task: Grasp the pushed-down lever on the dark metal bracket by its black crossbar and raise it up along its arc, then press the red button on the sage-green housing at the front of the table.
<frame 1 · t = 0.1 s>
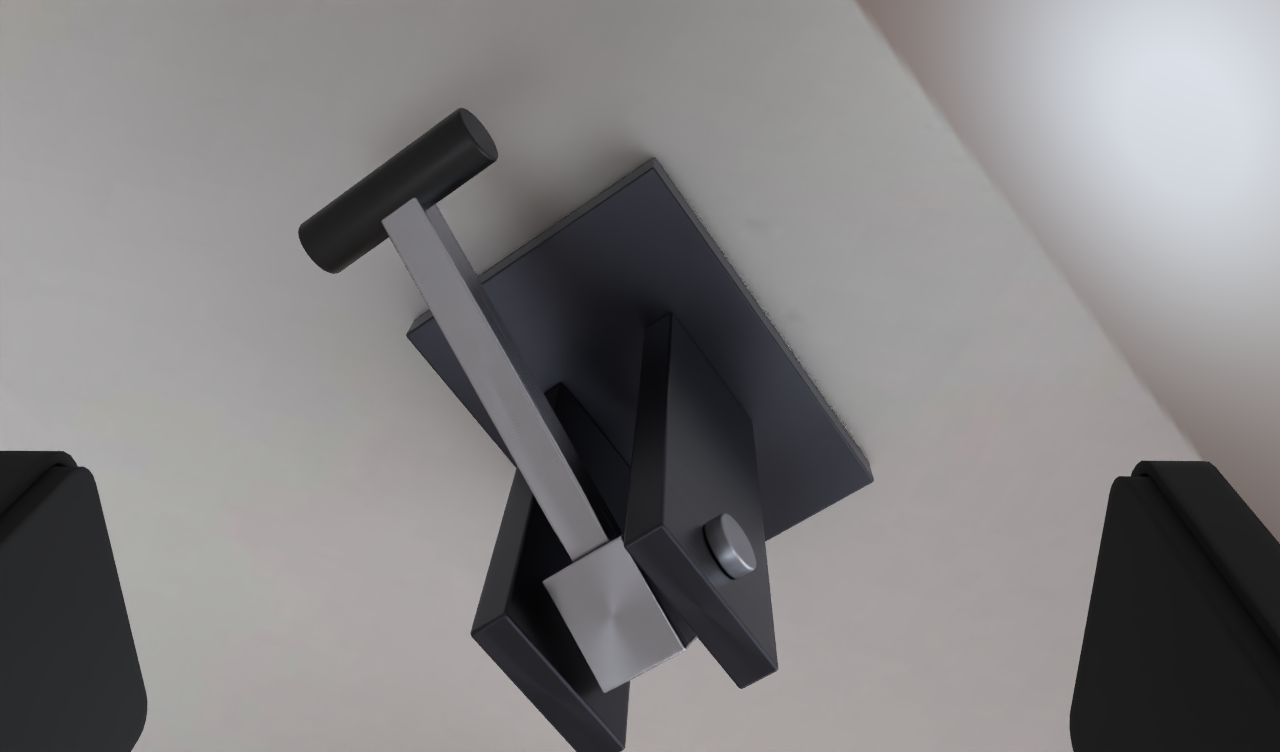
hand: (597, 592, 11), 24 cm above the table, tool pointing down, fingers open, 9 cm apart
lever: (517, 405, 27), point 9 cm above the table, hinge at -26.0°
bracket: (645, 393, 36), on the table
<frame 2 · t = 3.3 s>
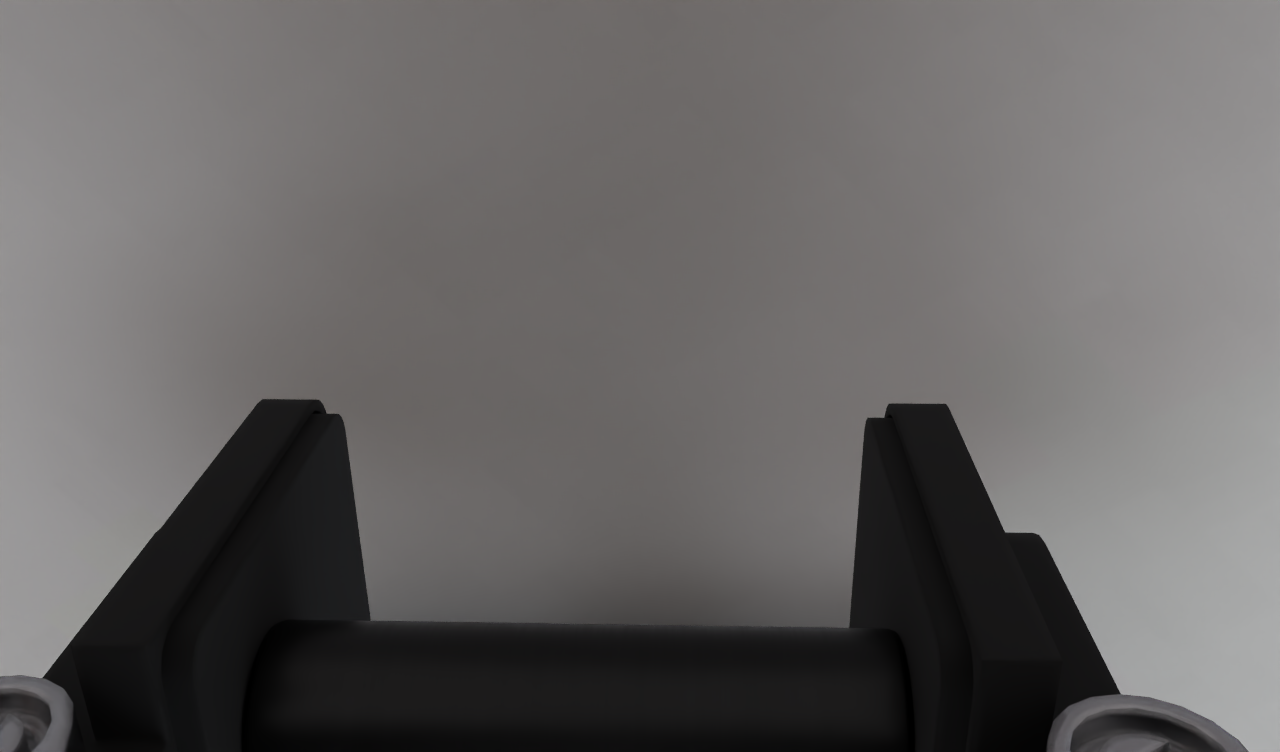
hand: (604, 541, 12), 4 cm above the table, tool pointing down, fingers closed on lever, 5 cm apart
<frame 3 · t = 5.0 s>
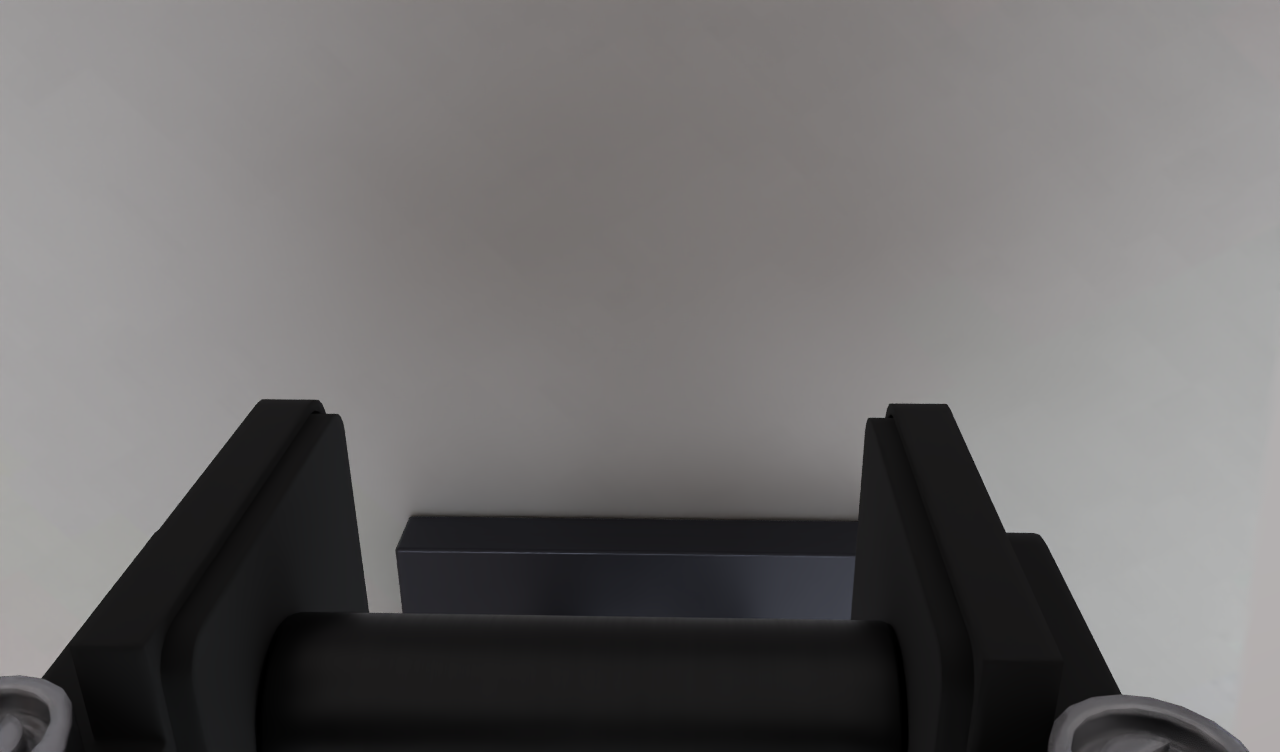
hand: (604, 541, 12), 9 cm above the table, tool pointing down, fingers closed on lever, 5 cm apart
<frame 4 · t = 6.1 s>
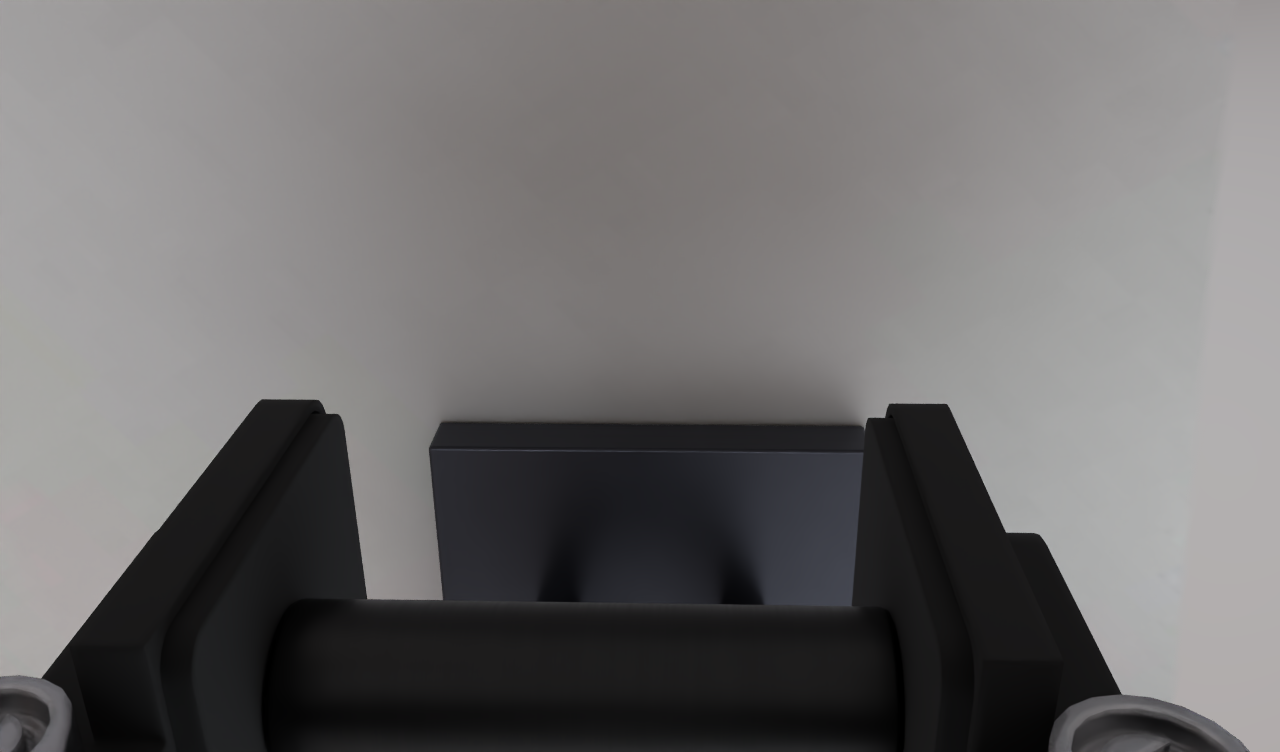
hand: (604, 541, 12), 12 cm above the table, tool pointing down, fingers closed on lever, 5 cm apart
bracket: (652, 655, 27), on the table
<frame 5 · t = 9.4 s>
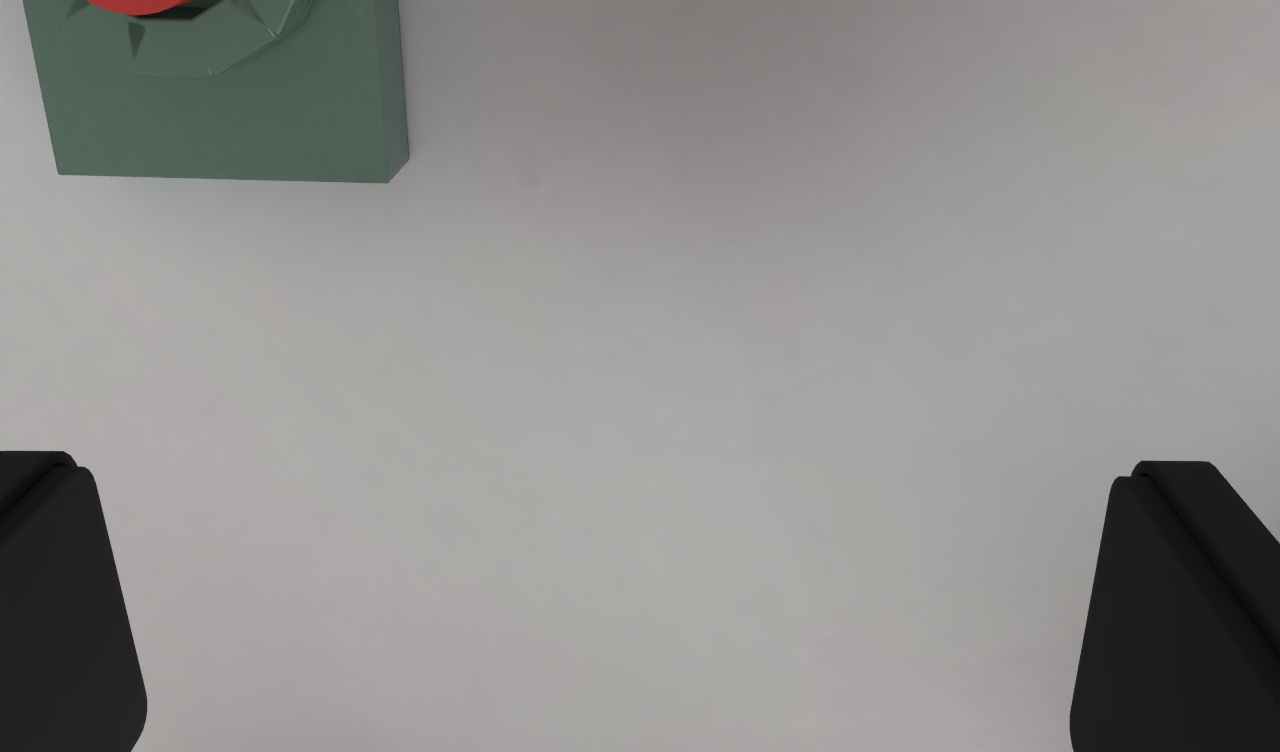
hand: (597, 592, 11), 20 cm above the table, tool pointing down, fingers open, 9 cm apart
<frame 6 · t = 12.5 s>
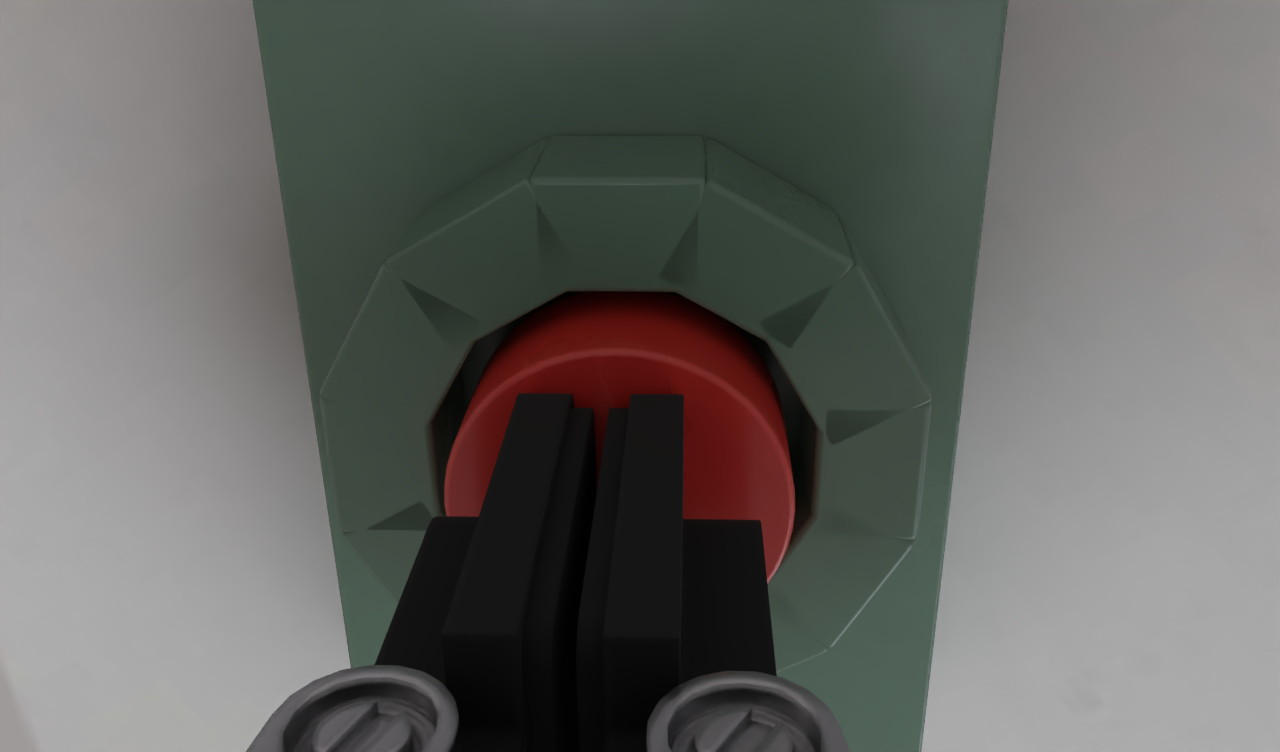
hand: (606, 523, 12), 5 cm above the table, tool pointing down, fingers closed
button box: (640, 329, 16), on the table
button: (623, 469, 13), point 4 cm above the table, slide at -0.4 cm, touching gripper
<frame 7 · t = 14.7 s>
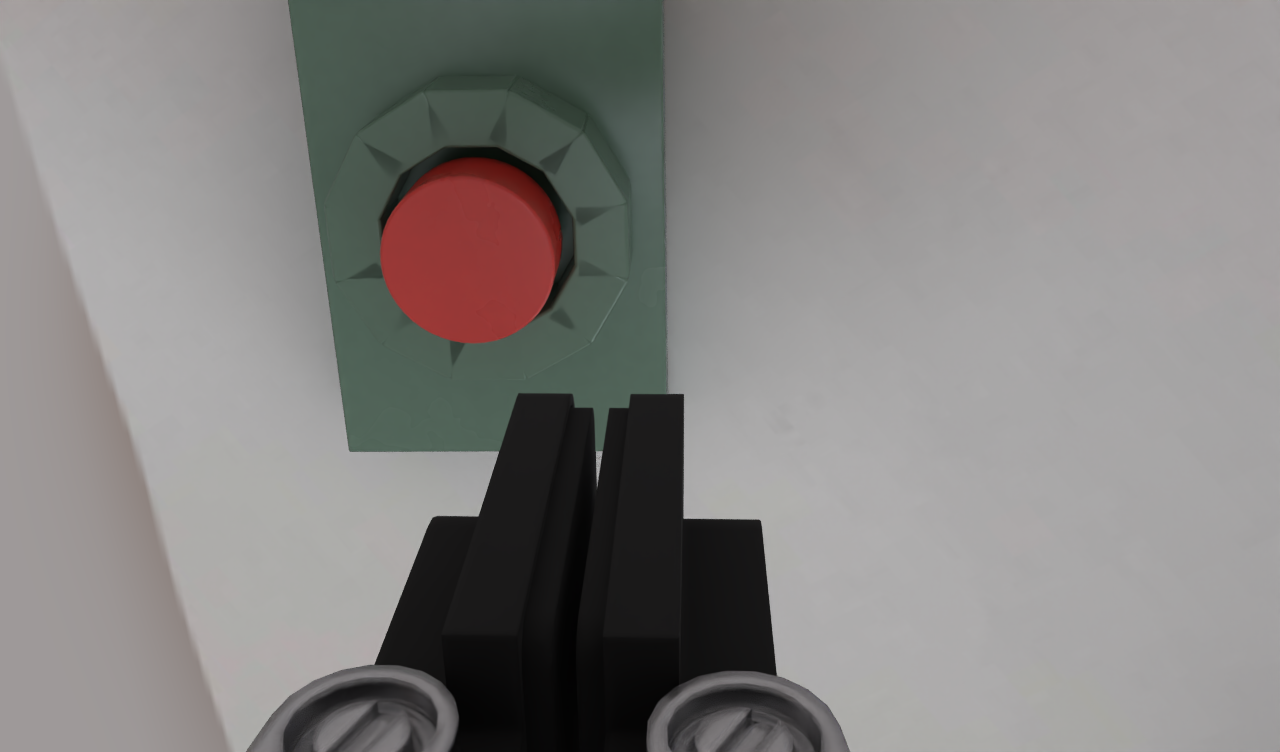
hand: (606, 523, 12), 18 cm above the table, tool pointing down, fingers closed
button box: (503, 194, 29), on the table
button: (473, 250, 24), point 4 cm above the table, slide at 0.1 cm
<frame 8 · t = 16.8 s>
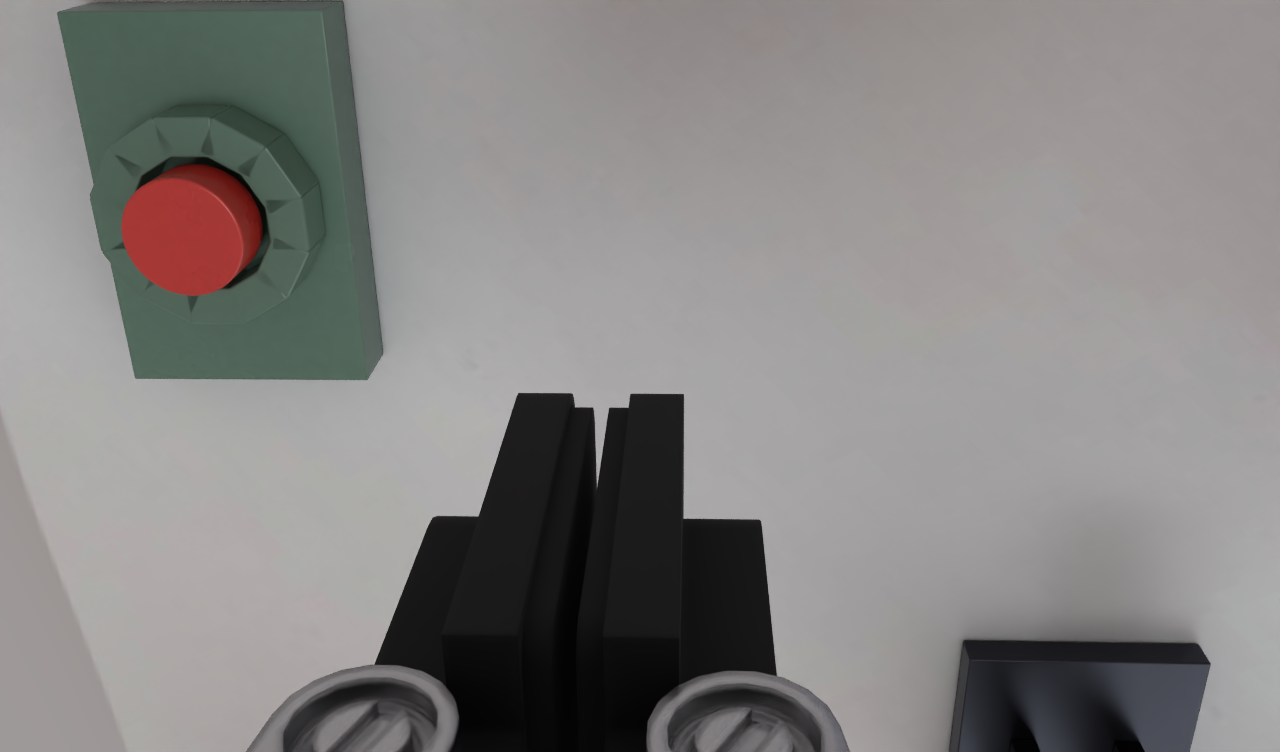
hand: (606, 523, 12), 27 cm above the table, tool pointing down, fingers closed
button box: (246, 189, 39), on the table
button: (193, 229, 35), point 4 cm above the table, slide at 0.1 cm
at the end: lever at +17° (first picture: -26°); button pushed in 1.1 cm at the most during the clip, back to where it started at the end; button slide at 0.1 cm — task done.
